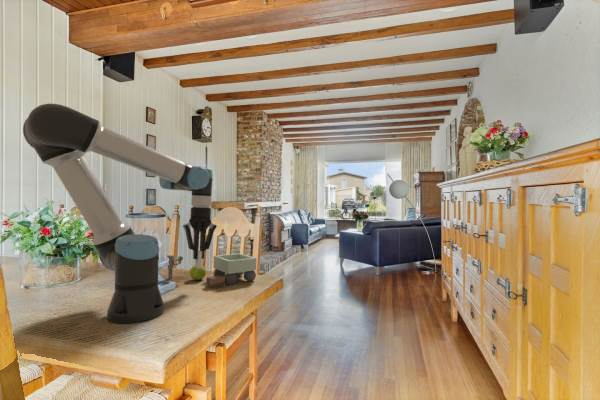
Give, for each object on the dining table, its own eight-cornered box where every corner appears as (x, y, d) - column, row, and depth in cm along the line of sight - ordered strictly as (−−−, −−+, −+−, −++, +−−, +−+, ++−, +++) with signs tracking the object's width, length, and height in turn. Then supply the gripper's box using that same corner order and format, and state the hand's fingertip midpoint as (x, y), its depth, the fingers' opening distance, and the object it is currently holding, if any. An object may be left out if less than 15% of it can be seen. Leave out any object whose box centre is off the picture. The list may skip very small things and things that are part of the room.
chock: (224, 286, 129) (225, 276, 129) (210, 289, 125) (210, 278, 125) (220, 284, 132) (220, 275, 132) (206, 286, 128) (206, 277, 128)
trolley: (256, 281, 138) (257, 258, 138) (227, 285, 130) (227, 261, 130) (240, 274, 150) (241, 253, 150) (212, 278, 142) (212, 256, 142)
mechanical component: (180, 279, 139) (180, 256, 139) (157, 279, 139) (157, 256, 139) (183, 278, 142) (183, 255, 142) (160, 277, 142) (160, 255, 142)
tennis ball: (204, 277, 143) (204, 262, 144) (207, 280, 138) (207, 265, 138) (188, 279, 140) (188, 263, 140) (191, 282, 134) (191, 266, 134)
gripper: (213, 207, 132) (210, 264, 131) (181, 206, 124) (178, 267, 123) (220, 207, 126) (217, 267, 125) (187, 206, 118) (184, 270, 117)
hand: (198, 267), depth 124 cm, fingers closed
